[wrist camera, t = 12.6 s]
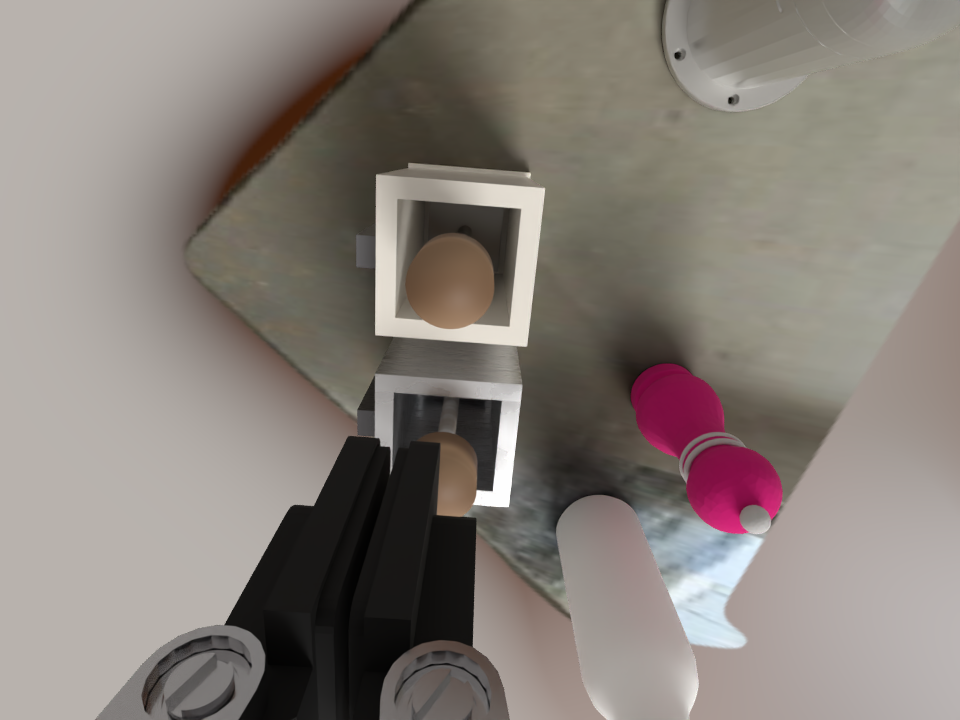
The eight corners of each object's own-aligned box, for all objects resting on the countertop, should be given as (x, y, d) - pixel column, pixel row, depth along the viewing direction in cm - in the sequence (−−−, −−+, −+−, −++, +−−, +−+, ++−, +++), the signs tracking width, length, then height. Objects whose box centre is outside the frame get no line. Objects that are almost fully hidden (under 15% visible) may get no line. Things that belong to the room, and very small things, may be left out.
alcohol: (616, 477, 55) (748, 811, 27) (650, 537, 58) (802, 897, 30) (540, 512, 57) (591, 859, 29) (577, 569, 60) (656, 937, 32)
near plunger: (430, 191, 44) (389, 219, 25) (504, 197, 44) (516, 230, 25) (427, 264, 46) (388, 339, 27) (497, 269, 46) (504, 348, 28)
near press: (394, 161, 44) (347, 166, 29) (529, 172, 45) (551, 182, 30) (392, 279, 48) (349, 337, 33) (517, 289, 48) (531, 351, 33)
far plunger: (425, 330, 48) (386, 441, 30) (492, 336, 48) (494, 449, 30) (422, 391, 50) (385, 529, 32) (486, 396, 50) (486, 536, 32)
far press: (391, 301, 49) (349, 367, 34) (515, 311, 49) (527, 380, 34) (390, 400, 52) (351, 499, 37) (505, 409, 53) (512, 511, 38)
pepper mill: (610, 405, 52) (678, 546, 34) (653, 344, 50) (752, 459, 31) (671, 437, 53) (769, 590, 35) (716, 379, 51) (847, 509, 32)
